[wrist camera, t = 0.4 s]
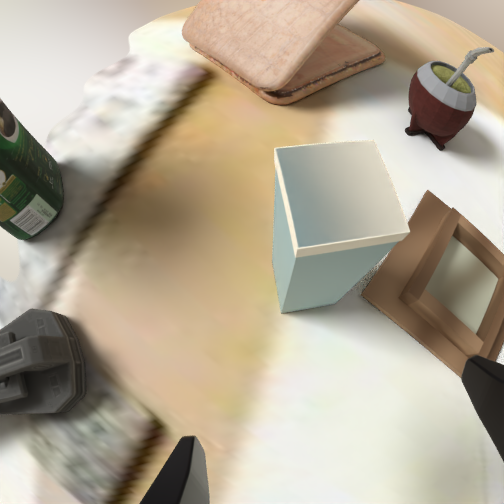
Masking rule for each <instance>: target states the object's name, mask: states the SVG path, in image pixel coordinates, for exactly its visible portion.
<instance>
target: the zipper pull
mask: <svg viewBox="0 0 504 504" xmlns="http://www.w3.org/2000/svg"><path fill="white" fill-rule="evenodd" d="M85 394H86V382H85V362H84V359H83V355H82V351H81V348H80V344H79V340H78V338H77V336H76V334H75V333H74V331H73V329H72V327H71V325H70V324H69V322H68V320H67V318H66V317H65V316H64V315H61V314H58V313H55V312H52V311H46V310H38V309H29V310H28V311H26V312H25V313H24V314H22V315H21V316H19V317H18V318H16V319H15V320H14V321H12V322H11V323H9V324H8V325H7V326H5V327H4V328H2V329H1V330H0V414H42V413H58V412H66V411H70V409H71V408H72V407H73V406H74V405H75V404H76V403H77V402H78V401H79V400H80V399H81V398H82V397H83V396H84V395H85Z"/></svg>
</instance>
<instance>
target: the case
mask: <svg viewBox="0 0 504 504" xmlns="http://www.w3.org/2000/svg"><path fill="white" fill-rule="evenodd" d="M358 1H359V0H201V1H200V2H199V4H198V5H197V6H196V7H195V9H194V10H193V11H192V13H191V14H190V16H189V17H188V19H187V20H186V22H185V23H184V26H183V29H182V35H183V38H184V39H185V40H186V41H187V42H189V43H190V47H191V48H192V49H193V50H195V51H196V52H198V53H200V54H201V55H203V56H204V57H206V58H207V59H209V60H210V61H212V62H213V63H215V64H216V65H218V66H219V67H221V68H222V69H223V70H225V71H226V72H228V73H229V74H230V75H232V76H233V77H235V78H236V79H237V80H239V81H240V82H241V83H243V84H244V85H246V86H247V87H248V88H249V89H251V90H252V91H253V92H254V93H256V94H257V95H258V96H260V97H261V98H263V99H264V100H266V101H267V102H270V103H272V104H279V105H285V104H290V103H293V102H295V101H298V100H300V99H302V98H304V97H306V96H308V95H310V94H312V93H314V92H316V91H318V90H320V89H322V88H324V87H327V86H329V85H331V84H333V83H335V82H337V81H340V80H342V79H344V78H346V77H349V76H351V75H353V74H356V73H358V72H360V71H363V70H366V69H368V68H371V67H373V66H376V65H378V64H381V63H383V62H384V60H385V55H384V53H383V52H382V51H381V50H380V49H379V48H378V47H377V46H376V45H374V44H373V43H371V42H370V41H368V40H366V39H364V38H362V37H360V36H358V35H356V34H355V33H353V32H351V31H350V30H349V29H347V28H345V27H343V26H341V25H339V24H338V23H339V22H340V21H341V20H342V19H343V17H344V16H345V15H346V14H347V13H348V12H349V11H350V10H351V9H352V8H353V7H354V5H355V4H356V3H357V2H358Z"/></svg>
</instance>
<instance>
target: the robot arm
mask: <svg viewBox="0 0 504 504" xmlns="http://www.w3.org/2000/svg"><path fill="white" fill-rule="evenodd" d="M461 379H462V383H463V385H464V387H465V389H466V391H467V393H468V395H469V397H470V399H471V402H472V404H473V406H474V408H475V410H476V412H477V414H478V416H479V418H480V420H481V421H482V423H483V425H484V427H485V428H486V430H487V432H488V434H489V435H490V437H491V439H492V441H493V443H494V444H495V446H496V448H497V450H498V452H499V454H500V456H501V458H502V459H503V461H504V365H503V364H500V363H497V362H495V361H492V360H489V359H487V358H484V357H482V356H479V355H474V356H472V357H470V358H468V359H467V360H466V363H465V366H464V369H463V372H462V376H461ZM140 504H210V500H209V487H208V478H207V468H206V459H205V452H204V449H203V447H202V446H201V444H200V442H199V440H198V439H197V437H196V436H184V437H182V438H181V439H180V441H179V442H178V444H177V445H176V447H175V449H174V450H173V452H172V454H171V455H170V457H169V458H168V460H167V462H166V463H165V465H164V466H163V468H162V469H161V471H160V473H159V474H158V476H157V477H156V479H155V480H154V482H153V484H152V485H151V487H150V488H149V490H148V491H147V493H146V494H145V496H144V497H143V499H142V501H141V502H140Z"/></svg>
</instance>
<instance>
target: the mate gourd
mask: <svg viewBox="0 0 504 504" xmlns="http://www.w3.org/2000/svg"><path fill="white" fill-rule="evenodd" d="M491 52H494V50H493V49H492V48H490V47H485V48H477V49H474V50H473V51H469V52H468V54H467V55H466V56H465V60H464V61H463V63H462V64H461V65H460V66H459V68H458V69H457V68H455V67H453V66H451V65H449V64H447V63H444V62H441V61H430V62H428V63H426V64H424V65H423V66H421V67H420V68H419V69H418V71H417V72H416V73H415V74H414V76H413V78H412V80H411V84H410V89H409V106H410V107H409V109H408V111H409V112H410V114H411V115H412V117H411V122H410V127H407V128H406V129H405V132H406V133H407V135H415V134H419V133H426V134H427V135H428V136H429V138H430V139H431V140H432V141H433V143H434V144H435V145H436V147H437V148H438V149H439V150H440V151H441V150H443V149H444V148H445V146H444V144H445V143H446V142H448V141H449V140H451V139H452V138H453V137H454V136H455V135H456V134H457V133H458V132H459V131H460V130H461V129H462V128H463V127H464V126H465V125H466V124H467V123H468V121H469V120H470V118H471V117H472V115H473V112H474V109H475V106H476V95H475V89H474V86H473V84H472V83H471V81H470V80H469V79H468V78H467V77H466V76H465V75H464V74H463V72H464V71H465V69H466V68H467V67H468V66H469V64H470V63H471V64H472V63H473V62H474V61H475V60H476V59H477V56H479V55H481V54H485V53H491Z"/></svg>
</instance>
